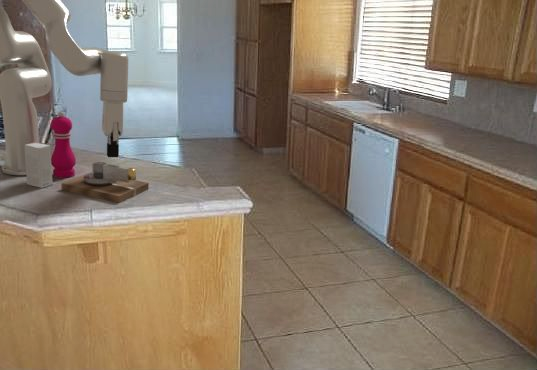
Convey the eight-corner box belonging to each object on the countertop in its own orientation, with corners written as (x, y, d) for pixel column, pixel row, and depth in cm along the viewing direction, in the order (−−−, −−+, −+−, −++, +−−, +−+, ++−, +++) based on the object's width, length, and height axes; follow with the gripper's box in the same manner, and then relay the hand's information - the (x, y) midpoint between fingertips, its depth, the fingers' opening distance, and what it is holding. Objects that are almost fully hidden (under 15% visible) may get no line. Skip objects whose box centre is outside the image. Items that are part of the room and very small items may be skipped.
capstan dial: (77, 182, 150) (76, 165, 148) (95, 174, 158) (95, 157, 156) (127, 192, 145) (126, 173, 144) (143, 183, 154) (143, 166, 152)
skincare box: (53, 184, 153) (51, 145, 149) (41, 188, 149) (39, 148, 146) (38, 180, 155) (35, 141, 152) (26, 184, 152) (23, 144, 148)
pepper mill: (68, 179, 158) (65, 114, 152) (46, 176, 160) (42, 112, 153) (80, 173, 165) (78, 111, 159) (60, 170, 166) (57, 108, 160)
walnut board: (61, 189, 150) (61, 182, 149) (94, 177, 162) (93, 171, 161) (119, 202, 143) (119, 195, 142) (148, 189, 156) (148, 182, 155)
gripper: (97, 90, 155) (96, 149, 161) (103, 100, 142) (102, 164, 148) (123, 91, 158) (121, 149, 164) (131, 101, 145) (129, 163, 151)
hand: (112, 156), depth 156 cm, fingers closed
